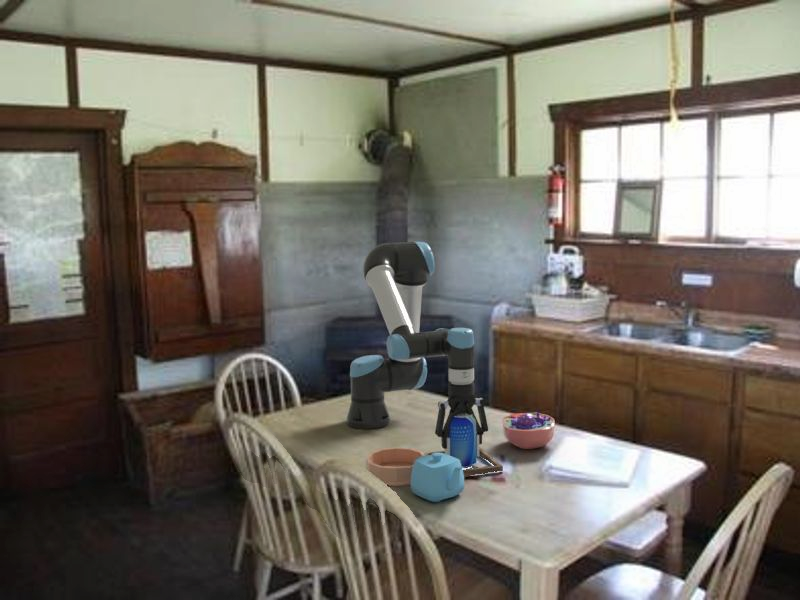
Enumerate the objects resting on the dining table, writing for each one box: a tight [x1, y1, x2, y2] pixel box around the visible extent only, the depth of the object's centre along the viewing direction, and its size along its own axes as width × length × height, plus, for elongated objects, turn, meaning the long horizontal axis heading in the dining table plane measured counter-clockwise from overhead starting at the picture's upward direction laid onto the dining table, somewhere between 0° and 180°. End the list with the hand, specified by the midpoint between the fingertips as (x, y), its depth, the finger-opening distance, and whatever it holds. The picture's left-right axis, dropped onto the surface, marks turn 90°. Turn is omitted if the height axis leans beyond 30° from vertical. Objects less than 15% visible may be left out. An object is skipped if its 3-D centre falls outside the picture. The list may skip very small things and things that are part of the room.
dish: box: [365, 446, 426, 487], centre depth 220 cm, size 18×18×5 cm
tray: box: [423, 446, 504, 479], centre depth 225 cm, size 18×18×2 cm
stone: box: [471, 462, 488, 469], centre depth 221 cm, size 4×3×2 cm
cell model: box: [501, 411, 556, 450], centre depth 241 cm, size 17×20×11 cm
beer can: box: [448, 413, 477, 468], centre depth 224 cm, size 8×8×16 cm
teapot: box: [410, 453, 466, 503], centre depth 203 cm, size 12×18×12 cm
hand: (462, 456), depth 225 cm, fingers closed on beer can, 8 cm apart
